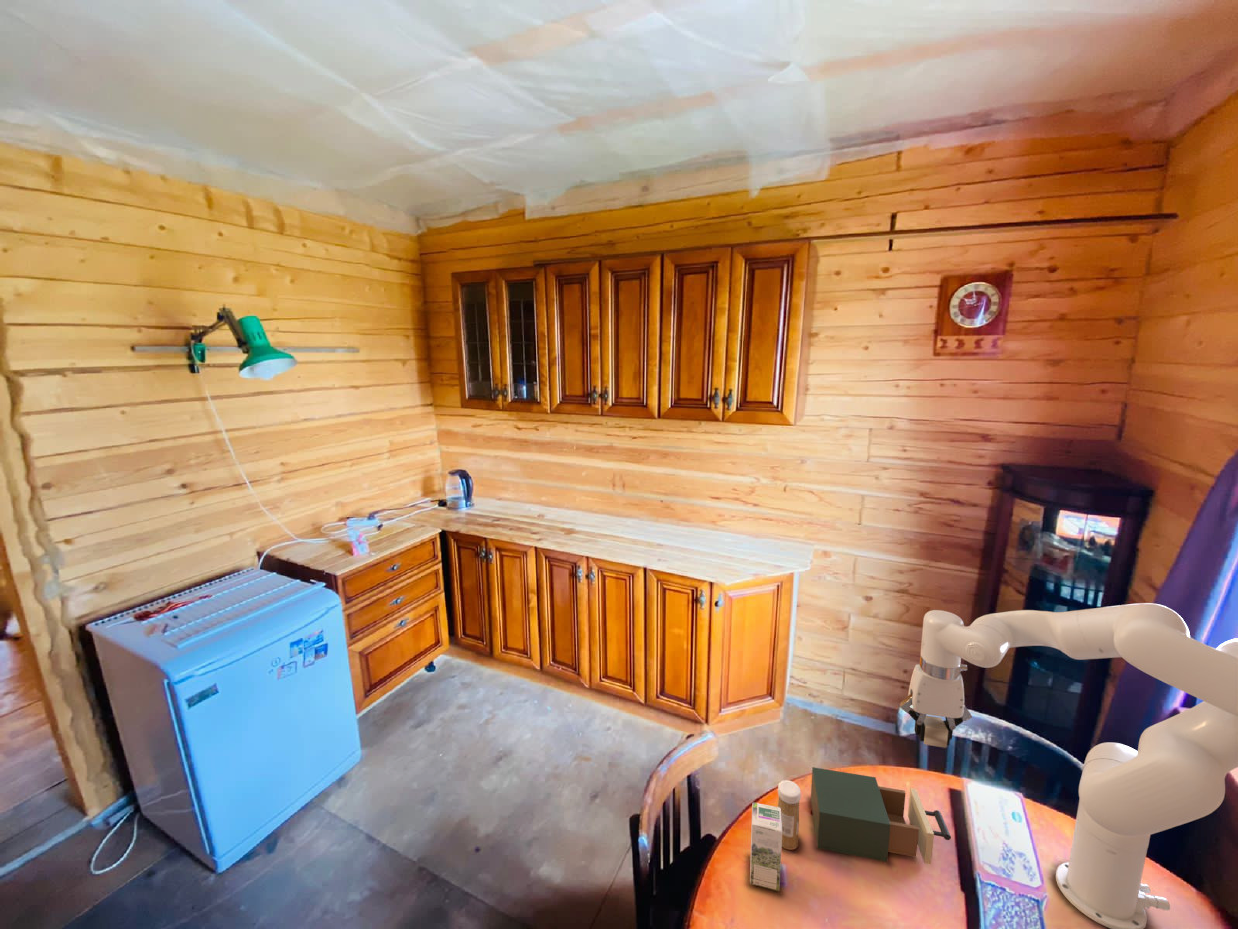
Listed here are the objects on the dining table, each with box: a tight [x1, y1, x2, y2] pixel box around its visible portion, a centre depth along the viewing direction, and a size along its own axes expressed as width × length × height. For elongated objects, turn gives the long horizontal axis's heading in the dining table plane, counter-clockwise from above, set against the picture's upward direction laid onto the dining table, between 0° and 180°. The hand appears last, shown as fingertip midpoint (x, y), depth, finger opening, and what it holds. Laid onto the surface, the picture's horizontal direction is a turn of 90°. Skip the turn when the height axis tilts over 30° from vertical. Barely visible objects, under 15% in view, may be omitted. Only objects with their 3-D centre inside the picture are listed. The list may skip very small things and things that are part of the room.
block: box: [922, 715, 948, 749], centre depth 115 cm, size 4×4×4 cm
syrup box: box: [749, 801, 783, 892], centre depth 100 cm, size 6×6×14 cm
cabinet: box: [810, 766, 890, 863], centre depth 111 cm, size 14×13×9 cm
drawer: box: [878, 785, 952, 865], centre depth 108 cm, size 17×11×7 cm
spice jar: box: [777, 779, 802, 850], centre depth 108 cm, size 5×5×14 cm
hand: (932, 738), depth 115 cm, fingers closed on block, 4 cm apart
